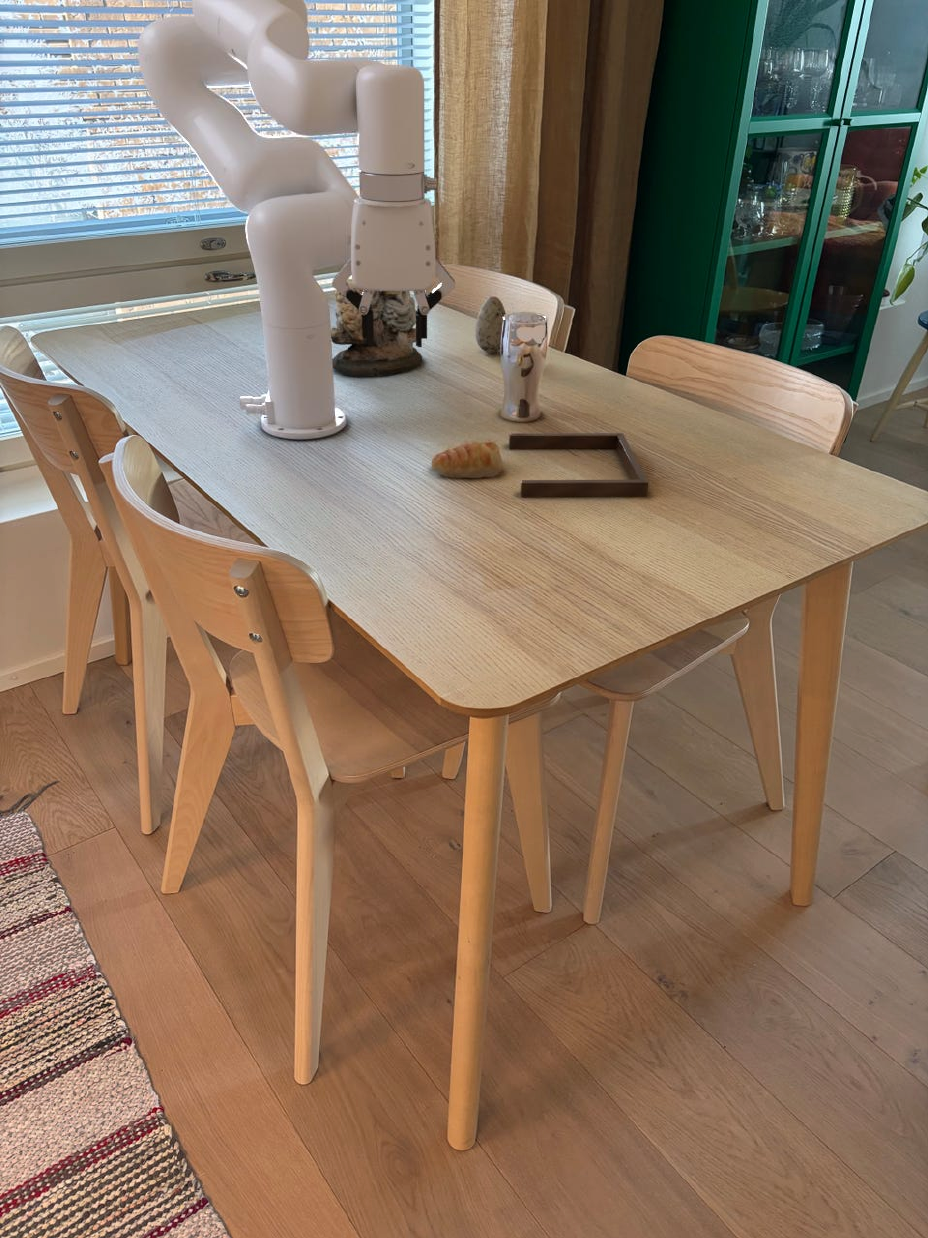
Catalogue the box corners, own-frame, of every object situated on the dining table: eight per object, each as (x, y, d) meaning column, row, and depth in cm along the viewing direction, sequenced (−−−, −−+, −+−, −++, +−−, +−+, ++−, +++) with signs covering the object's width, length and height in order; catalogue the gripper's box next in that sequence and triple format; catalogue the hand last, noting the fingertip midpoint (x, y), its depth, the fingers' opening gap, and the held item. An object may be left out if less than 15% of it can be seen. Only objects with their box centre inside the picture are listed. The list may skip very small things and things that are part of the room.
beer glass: (539, 425, 145) (545, 325, 137) (494, 420, 146) (497, 321, 138) (545, 409, 151) (551, 312, 143) (501, 405, 152) (505, 309, 144)
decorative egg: (469, 354, 174) (471, 298, 169) (481, 345, 179) (483, 290, 173) (500, 358, 172) (502, 302, 167) (511, 349, 177) (514, 294, 171)
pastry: (439, 484, 126) (439, 457, 124) (425, 464, 132) (425, 438, 130) (506, 476, 129) (507, 449, 127) (489, 457, 134) (490, 431, 132)
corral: (521, 497, 124) (521, 483, 123) (508, 446, 138) (509, 433, 137) (647, 496, 125) (648, 482, 123) (621, 445, 139) (623, 432, 138)
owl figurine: (347, 384, 159) (342, 278, 150) (313, 365, 167) (306, 263, 158) (436, 365, 168) (436, 264, 159) (399, 348, 176) (398, 251, 167)
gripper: (464, 183, 114) (461, 335, 124) (319, 181, 113) (328, 335, 123) (467, 194, 108) (464, 353, 118) (315, 192, 107) (324, 352, 117)
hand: (395, 342), depth 120 cm, fingers open, 5 cm apart
